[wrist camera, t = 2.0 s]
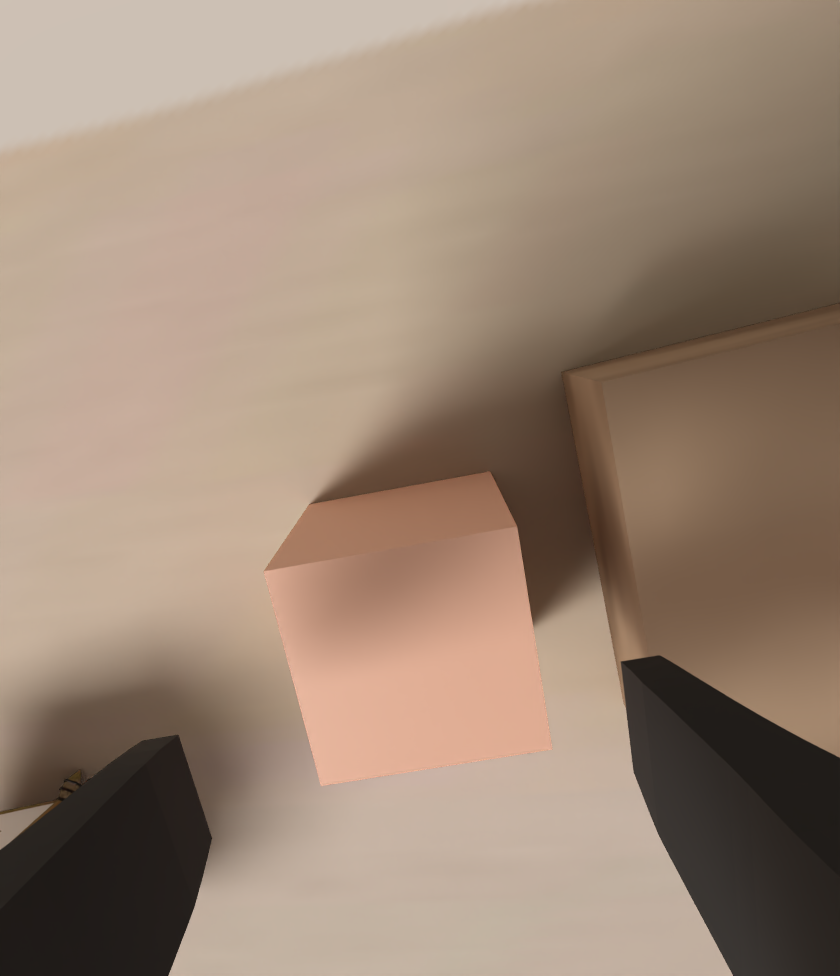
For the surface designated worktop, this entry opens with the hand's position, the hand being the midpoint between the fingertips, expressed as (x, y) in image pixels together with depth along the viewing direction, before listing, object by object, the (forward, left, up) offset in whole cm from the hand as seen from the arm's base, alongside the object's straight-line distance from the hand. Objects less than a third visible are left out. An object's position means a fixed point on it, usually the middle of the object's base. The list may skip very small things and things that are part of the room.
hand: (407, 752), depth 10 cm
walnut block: (0, -9, -8) cm, 12 cm away
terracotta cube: (0, 0, -8) cm, 8 cm away
